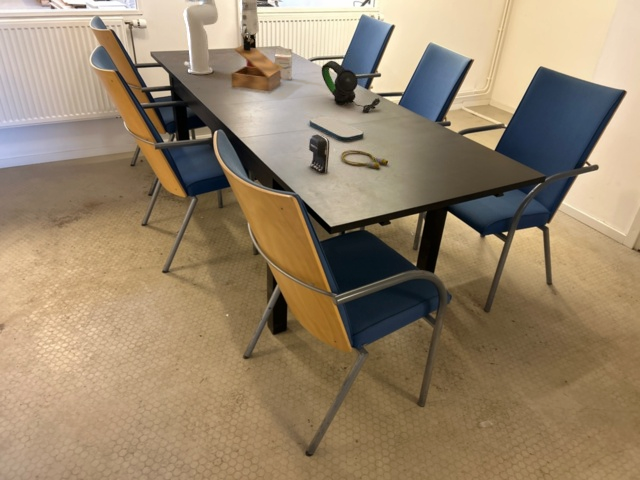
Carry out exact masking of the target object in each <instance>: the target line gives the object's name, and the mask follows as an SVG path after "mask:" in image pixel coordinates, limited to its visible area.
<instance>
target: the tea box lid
mask: <svg viewBox="0 0 640 480" xmlns="http://www.w3.org/2000/svg"><path fill="white" fill-rule="evenodd" d="M249 41H250V45H251V43H253V42H254V40H253V39H251V38H250V40H249ZM234 51H235V52H237V53H238V54H239V55H240V56H241V57H242V58H243V59H245V61H246V60H247V61H249V62H250V63H251V64H252V65H253V66H255V67H256V68H257V69H258V70H259V71H261V72H262V73H263V74H264V75H266V76H267V77H268V78H269V77H270V76H272V75H274V74H275V73H277V72H278V71H280V70H281V69H280V68H279V67H278V66H277V65H276V64H274V61H272V60H271V59H270V58H268V56H266V55H265V54H264V53H263V52H261V51H260V50H259V49H258V48H257V47H256V48H251V50H250V51H247V50H244V44H242V45H239V46H238V47H235V48H234Z"/></svg>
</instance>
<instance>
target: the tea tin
mask: <svg viewBox="0 0 640 480" xmlns="http://www.w3.org/2000/svg"><path fill="white" fill-rule="evenodd" d="M245 63H246V64H245V66H248V67H255V66H253V65H252V64H251V63H250V62H249V61H247V60H246V59H245Z"/></svg>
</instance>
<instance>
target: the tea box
mask: <svg viewBox="0 0 640 480" xmlns="http://www.w3.org/2000/svg"><path fill="white" fill-rule="evenodd" d="M230 75H231V78H230V79H231V87H234V88H242V89H248V90H254V91H255V90H256V91H262V92H263V91H264V92H271V90H274V89H275V88H276V87H278V86H279V85H280V84H281V81H282V80H281V79H282V78H281V71H278V72H277V73H275V74H274V75H272V76H270V77H269V78H268V77H267V76H266V75H264V74H263V73H262V72H261V71H259V70H258V69H257V68H256V67H248V66H246V65H244V66H243V67H241V68H239V69H236V70H234V71H233V72H231V74H230Z"/></svg>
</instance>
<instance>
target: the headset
mask: <svg viewBox="0 0 640 480" xmlns="http://www.w3.org/2000/svg"><path fill="white" fill-rule="evenodd" d="M330 69H331V70H333V72H334V73H335V74H336V76H335V79H334V80H333V78H332V76H331V74H330ZM321 76H322V79H323V81H324V83H325V85H326V87H327V89H328V90H329V92H330V93H331V94H332V95H333V97H334V102H335V104H336V105H338V106H346V105H349V104H352V103H353V104H354V105H355V106H358V107H363V109H362V112H363V113H368V112H370V110H371V111H372V110H375V109H377V108H376V106H378V105H379V104H380V102H381V100H380V98H379V97H377V98H375V99H373V100H372V102H371V103H370V104H364V105H360V104H357V103H356V102H355V99H356V93H355V90H356V89H357V86H358V83H359V81H358V77H357V75H356V73H355V72H353V71H352V70H350V69H345V67H343V66H342V65H341V64H339V63H338V62H337V61H335V60H329V61H328V62H326V63H324V64H323V65H322V67H321Z"/></svg>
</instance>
